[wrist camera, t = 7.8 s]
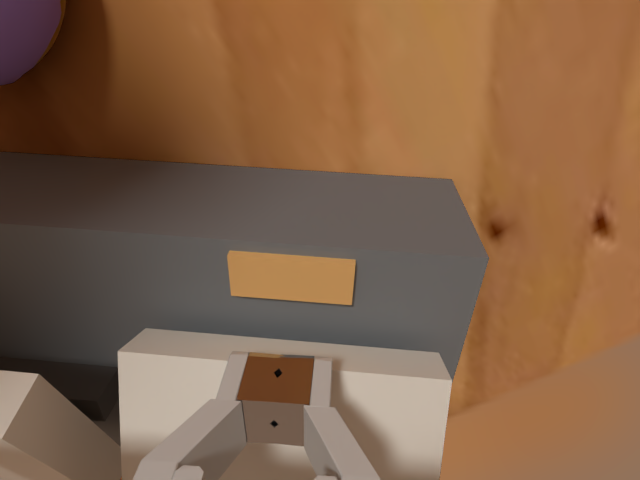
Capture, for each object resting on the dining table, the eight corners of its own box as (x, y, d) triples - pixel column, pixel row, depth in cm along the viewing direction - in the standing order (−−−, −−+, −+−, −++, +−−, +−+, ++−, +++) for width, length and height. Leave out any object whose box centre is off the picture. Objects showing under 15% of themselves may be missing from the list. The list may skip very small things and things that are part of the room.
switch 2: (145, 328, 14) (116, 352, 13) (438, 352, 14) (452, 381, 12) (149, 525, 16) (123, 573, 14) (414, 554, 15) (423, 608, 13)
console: (-82, 146, 19) (-311, 230, 12) (451, 179, 18) (504, 291, 11) (24, 363, 26) (-85, 485, 20) (405, 397, 25) (420, 540, 19)
